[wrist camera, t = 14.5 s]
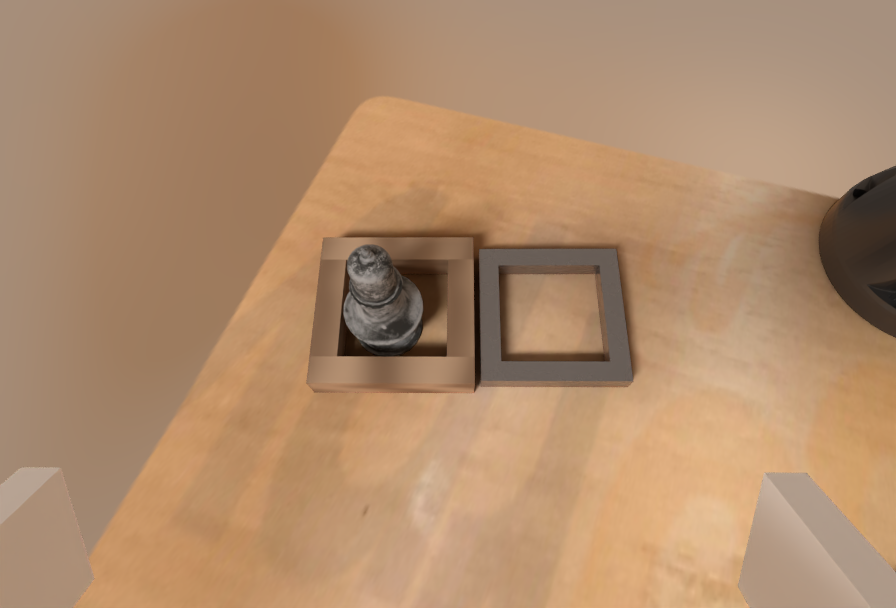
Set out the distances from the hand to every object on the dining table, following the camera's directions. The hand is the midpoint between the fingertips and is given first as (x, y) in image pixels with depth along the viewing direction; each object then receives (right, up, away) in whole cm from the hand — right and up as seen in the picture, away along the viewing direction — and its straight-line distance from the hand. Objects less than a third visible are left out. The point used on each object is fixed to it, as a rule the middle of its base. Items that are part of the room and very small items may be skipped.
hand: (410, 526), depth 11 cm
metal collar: (+9, +3, +34) cm, 35 cm away
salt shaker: (-4, +3, +34) cm, 34 cm away
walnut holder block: (-3, +3, +34) cm, 34 cm away
